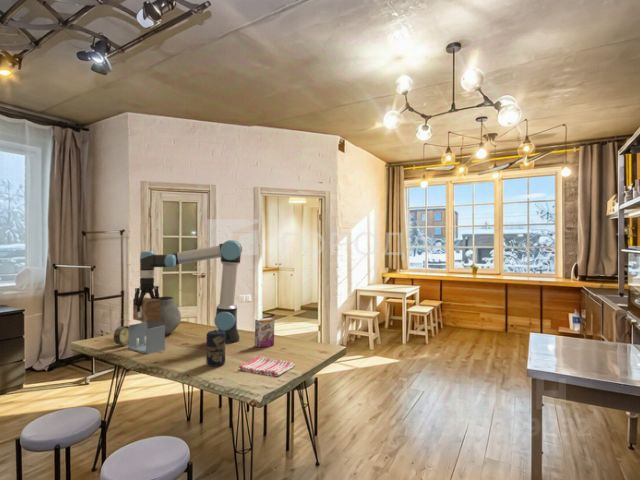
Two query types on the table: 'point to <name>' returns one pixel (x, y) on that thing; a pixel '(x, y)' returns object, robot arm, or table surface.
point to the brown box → (148, 310)
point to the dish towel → (267, 366)
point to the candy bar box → (264, 332)
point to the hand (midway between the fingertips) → (146, 315)
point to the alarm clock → (121, 335)
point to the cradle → (146, 338)
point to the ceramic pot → (167, 315)
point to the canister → (215, 348)
